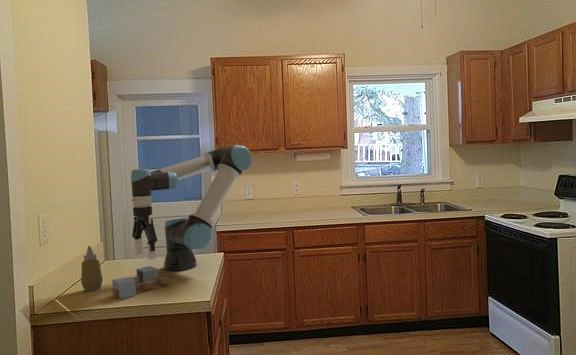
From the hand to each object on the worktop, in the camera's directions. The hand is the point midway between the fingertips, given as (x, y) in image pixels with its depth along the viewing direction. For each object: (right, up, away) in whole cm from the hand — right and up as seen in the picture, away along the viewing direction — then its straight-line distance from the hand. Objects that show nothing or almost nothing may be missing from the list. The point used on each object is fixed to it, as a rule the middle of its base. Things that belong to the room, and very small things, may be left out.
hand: (145, 256), depth 192 cm
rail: (+3, -12, -12) cm, 17 cm away
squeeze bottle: (-20, -13, -6) cm, 24 cm away
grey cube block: (+1, -11, +1) cm, 11 cm away
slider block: (-3, -12, -17) cm, 21 cm away
